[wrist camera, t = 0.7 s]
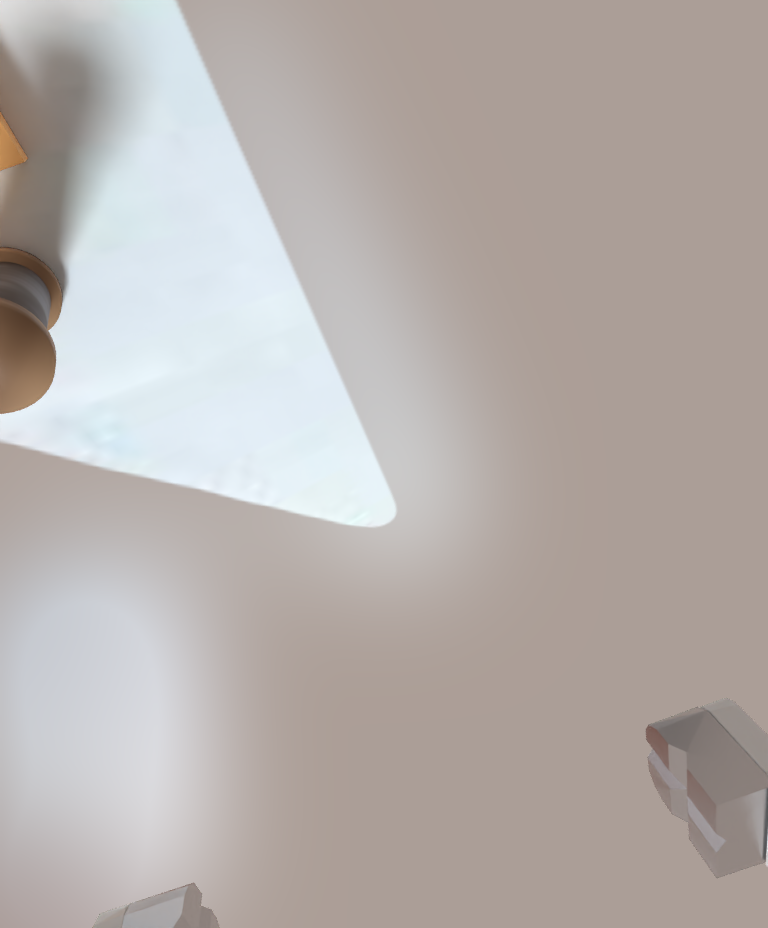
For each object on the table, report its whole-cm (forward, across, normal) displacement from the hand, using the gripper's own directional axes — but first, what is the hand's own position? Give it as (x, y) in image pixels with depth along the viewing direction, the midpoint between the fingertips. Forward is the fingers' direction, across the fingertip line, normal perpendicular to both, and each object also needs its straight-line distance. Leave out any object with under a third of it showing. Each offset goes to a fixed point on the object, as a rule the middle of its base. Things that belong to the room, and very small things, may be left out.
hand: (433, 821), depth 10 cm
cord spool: (+43, +19, -10) cm, 48 cm away
